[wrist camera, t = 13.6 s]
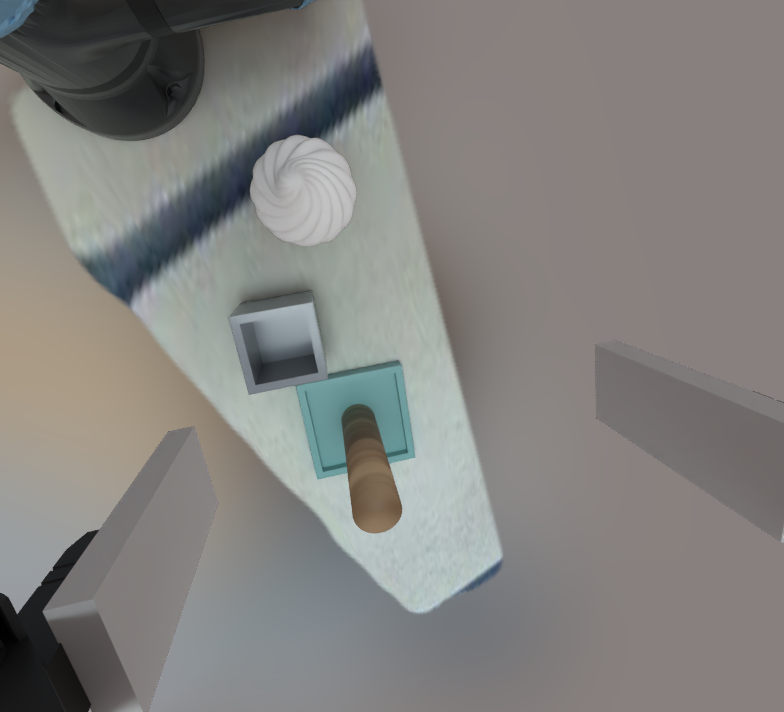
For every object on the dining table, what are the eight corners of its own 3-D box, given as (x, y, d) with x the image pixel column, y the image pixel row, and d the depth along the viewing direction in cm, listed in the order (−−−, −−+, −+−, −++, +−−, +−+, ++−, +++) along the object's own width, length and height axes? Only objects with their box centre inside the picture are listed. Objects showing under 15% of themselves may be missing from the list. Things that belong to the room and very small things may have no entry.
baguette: (338, 407, 52) (348, 496, 35) (372, 401, 53) (398, 485, 36) (344, 438, 54) (357, 538, 36) (377, 431, 54) (405, 526, 37)
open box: (241, 302, 48) (228, 317, 40) (312, 290, 49) (312, 302, 41) (258, 369, 50) (248, 394, 43) (325, 356, 51) (328, 378, 44)
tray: (296, 380, 51) (295, 386, 50) (398, 360, 53) (401, 365, 51) (317, 471, 55) (317, 479, 53) (412, 450, 56) (415, 457, 55)
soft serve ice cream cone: (361, 191, 47) (385, 174, 32) (318, 258, 48) (321, 272, 33) (292, 138, 45) (282, 93, 29) (248, 210, 46) (216, 202, 30)
